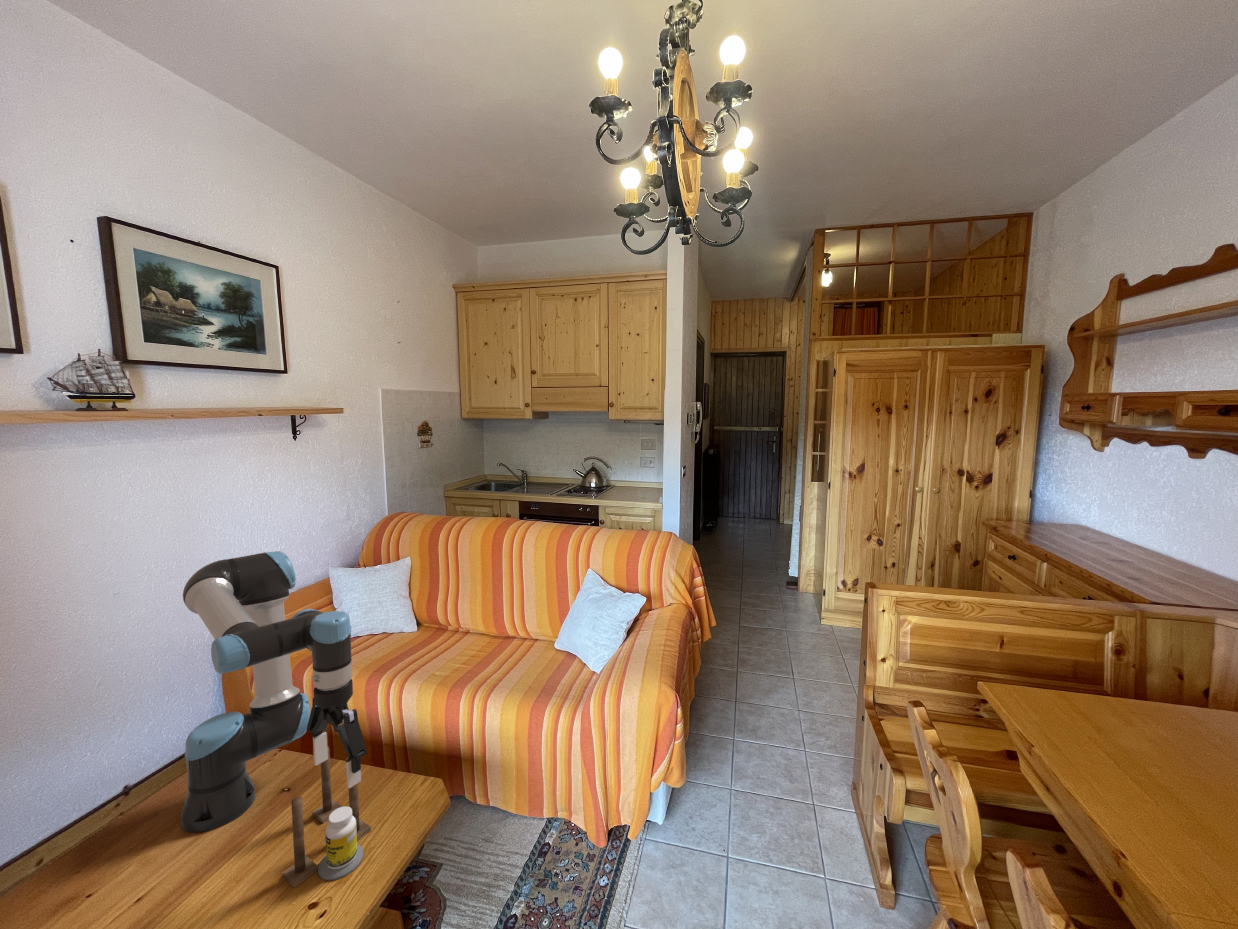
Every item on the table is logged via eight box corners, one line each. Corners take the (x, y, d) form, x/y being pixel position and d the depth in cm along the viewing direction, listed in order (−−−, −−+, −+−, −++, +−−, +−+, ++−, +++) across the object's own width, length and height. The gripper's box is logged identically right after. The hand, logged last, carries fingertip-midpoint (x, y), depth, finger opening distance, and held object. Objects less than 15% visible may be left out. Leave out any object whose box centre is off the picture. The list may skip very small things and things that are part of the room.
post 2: (312, 815, 125) (309, 750, 124) (332, 802, 129) (329, 740, 128) (322, 823, 122) (319, 757, 121) (342, 810, 126) (339, 746, 125)
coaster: (310, 868, 110) (310, 865, 110) (349, 839, 117) (349, 837, 117) (331, 887, 105) (331, 885, 105) (371, 856, 113) (371, 854, 113)
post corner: (339, 836, 118) (336, 768, 117) (359, 822, 123) (356, 756, 121) (351, 845, 116) (348, 776, 114) (370, 830, 120) (368, 763, 119)
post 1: (282, 877, 108) (278, 802, 106) (306, 859, 112) (303, 788, 111) (294, 888, 105) (290, 812, 104) (318, 870, 109) (314, 796, 108)
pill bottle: (319, 868, 109) (317, 822, 108) (341, 845, 115) (339, 801, 114) (343, 873, 108) (341, 827, 107) (363, 850, 114) (361, 806, 113)
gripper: (286, 675, 111) (291, 762, 113) (348, 707, 99) (352, 806, 100) (320, 661, 118) (324, 744, 119) (382, 690, 105) (385, 783, 107)
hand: (337, 772), depth 110 cm, fingers open, 13 cm apart
